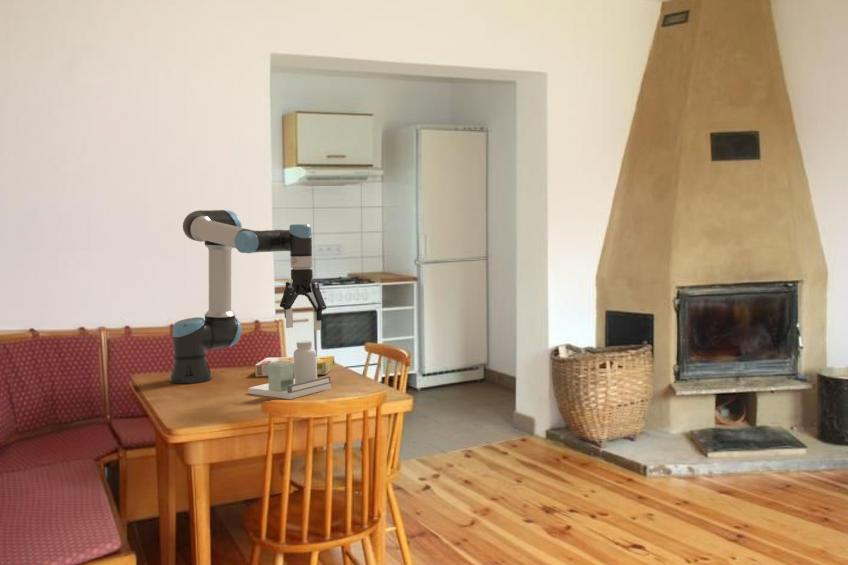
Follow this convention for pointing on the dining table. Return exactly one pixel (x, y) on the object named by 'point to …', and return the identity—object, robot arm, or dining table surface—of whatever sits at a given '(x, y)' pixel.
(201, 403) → the dining table surface
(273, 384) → the tea tin
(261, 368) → the cereal box
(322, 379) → the flat white tray
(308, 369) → the pill bottle
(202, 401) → the dining table surface
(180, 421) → the dining table surface
